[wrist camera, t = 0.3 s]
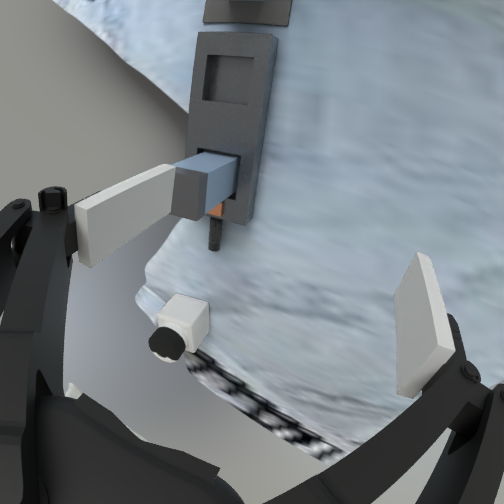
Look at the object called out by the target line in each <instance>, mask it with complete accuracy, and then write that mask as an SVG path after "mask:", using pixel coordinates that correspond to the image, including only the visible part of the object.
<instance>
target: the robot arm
mask: <svg viewBox="0 0 504 504" xmlns="http://www.w3.org/2000/svg"><path fill="white" fill-rule="evenodd" d="M175 170H176V167H175V166H171V165H168V164H162V165H159V166H157V167H155V168H152V169H150V170H148V171H145V172H143V173H140V174H138V175H136V176H134V177H131V178H129V179H127V180H125V181H122V182H120V183H118V184H116V185H114V186H112V187H109V188H107V189H105V190H103V191H98V192H96V193H94V194H92V195H91V196H89V197H86V198H85V199H82V200H80V201H78V202H76V203H74V204H72V205H70V206H68V207H67V190H66V189H65V188H63V187H56V186H55V187H49V188H45V189H43V190H41V191H40V192H39V193H38V197H39V208H40V212H38V211H32V207H31V201H30V200H27V199H16V200H15V201H12V202H10V203H9V204H8V205H7V206H5V207H4V209H2V210H1V211H0V316H1V315H2V312H3V311H4V313H3V317H2V321H1V325H0V504H244V502H243V500H242V499H241V497H240V496H239V495H238V493H237V492H236V491H235V490H234V489H233V488H232V487H231V486H230V485H229V484H228V483H227V482H225V481H224V480H223V479H221V478H220V477H219V476H217V474H218V472H219V470H220V468H219V467H217V466H214V465H212V464H210V463H207V462H205V461H203V460H200V459H198V458H196V457H194V456H192V455H189V454H187V453H185V452H183V451H179V450H175V449H171V448H167V447H163V446H159V445H156V444H152V443H149V442H145V441H142V440H140V439H139V438H138V437H137V436H136V435H134V434H133V433H132V432H131V431H130V430H129V429H128V428H127V427H126V426H125V425H124V424H123V423H122V422H121V421H120V420H119V419H118V418H117V417H116V416H115V415H114V414H113V413H112V412H111V411H110V410H108V409H106V408H105V407H103V406H102V405H100V404H99V403H97V402H96V401H94V400H93V399H91V398H90V397H88V396H87V395H86V394H84V393H83V394H82V395H81V396H80V397H79V398H78V399H74V398H70V397H65V395H64V391H63V352H64V334H65V321H66V320H65V319H66V310H67V301H68V292H69V284H70V277H71V270H72V263H73V259H72V254H73V253H74V252H76V251H78V256H79V262H80V263H82V264H84V265H86V266H88V267H89V268H92V267H93V266H95V265H96V264H98V263H99V262H100V261H102V260H103V259H104V258H105V257H107V256H108V255H109V254H111V253H112V252H114V251H115V250H117V249H118V248H119V247H121V246H122V245H124V244H125V243H126V242H128V241H129V240H131V239H132V238H134V237H135V236H136V235H138V234H139V233H140V232H142V231H143V230H145V229H146V228H148V227H149V226H151V225H152V224H154V223H155V222H157V221H158V220H159V219H161V218H163V217H164V216H166V215H167V214H169V213H170V212H171V204H172V195H173V186H174V178H175ZM11 241H12V245H13V247H12V248H11ZM394 304H395V320H396V344H397V394H398V395H401V396H405V397H409V398H412V399H413V398H414V397H415V396H416V395H417V394H418V393H419V392H420V391H421V390H422V396H421V397H420V398H419V399H418V400H416V401H415V402H414V403H413V404H412V405H411V406H410V407H409V408H407V409H406V410H405V411H404V412H403V413H402V414H401V415H399V416H398V417H397V418H396V419H395V420H393V421H392V422H391V423H390V424H389V425H387V426H386V427H385V428H384V429H382V430H381V431H380V432H379V433H377V434H376V435H375V436H373V437H372V438H371V439H369V440H368V441H367V442H365V443H364V444H363V445H361V446H360V447H359V448H357V449H356V450H354V451H353V452H352V453H350V454H349V455H347V456H346V457H344V458H343V459H341V460H340V461H338V462H337V463H335V464H334V465H332V466H331V467H329V468H328V469H326V470H325V471H323V472H321V473H320V474H318V475H315V476H313V477H311V478H310V479H308V480H306V481H304V482H303V483H301V484H299V485H297V486H296V487H294V488H292V489H290V490H289V491H287V492H285V493H283V494H281V495H279V496H277V497H275V498H273V499H271V500H269V501H267V502H265V503H263V504H371V503H372V502H373V501H375V500H376V499H377V498H378V497H379V496H380V495H382V494H383V493H384V492H385V491H386V490H387V489H388V488H389V487H391V485H393V484H394V483H395V482H396V481H397V480H398V479H399V478H400V477H401V476H402V475H403V474H404V473H406V472H407V471H408V469H410V468H411V467H412V466H413V465H414V463H415V462H417V460H418V459H419V458H420V457H421V456H422V455H423V454H424V453H425V452H426V451H427V450H428V449H429V448H430V446H432V444H433V443H434V442H435V441H436V440H437V439H438V437H439V436H440V435H441V434H442V433H443V432H444V431H445V429H446V428H447V427H448V428H450V429H451V430H452V431H451V434H450V436H449V438H448V441H447V443H446V445H445V448H444V450H443V452H442V454H441V456H440V458H439V460H438V462H437V464H436V466H435V468H434V471H433V473H432V474H431V476H430V478H429V480H428V482H427V484H426V486H425V487H424V489H423V491H422V493H421V495H420V496H419V498H418V500H417V502H416V503H415V504H494V501H495V498H496V495H497V492H498V489H499V486H500V482H501V479H502V475H503V472H504V384H498V385H497V386H496V387H495V388H494V389H493V390H490V389H489V388H487V387H486V386H484V385H483V384H481V383H480V382H481V377H480V373H479V371H478V369H477V368H476V367H475V366H474V365H473V364H472V363H471V362H470V361H467V359H466V355H465V350H464V346H463V342H462V341H461V340H462V338H461V334H460V331H459V327H458V324H457V322H456V320H455V319H454V317H453V316H452V315H451V314H448V313H446V309H445V305H444V302H443V298H442V295H441V291H440V288H439V284H438V281H437V278H436V275H435V272H434V268H433V265H432V262H431V259H430V257H429V256H426V255H424V254H422V253H419V252H416V254H415V256H414V258H413V260H412V262H411V264H410V266H409V268H408V270H407V272H406V274H405V275H404V277H403V279H402V281H401V283H400V285H399V286H398V288H397V290H396V292H395V294H394Z"/></svg>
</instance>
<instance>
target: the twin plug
mask: <svg viewBox="0 0 504 504" xmlns="http://www.w3.org/2000/svg"><path fill="white" fill-rule="evenodd" d="M240 160H241V157H240V156H235V155H230V154H225V153H219V152H214V151H205V152H203V153H200V154H197V155H195V156H192V157H190V158H187V159H185V160H182V161H180V162H177V163H175V164H172V165H171V166H175V167H176V170H175V178H174V186H173V195H172V204H171V212H170V213H169V214H171V215H175V216H179V217H182V218H186V219H190V220H194V221H198V220H199V219H200V218H202V217H203V216H204V215H205V214H207V213H208V212H209V211H211V210H212V209H213V208H214V207H216V206H217V205H218V204H220V203H221V202H222V201H224V200H225V199H226V198H228V197H229V196H230V195H232V194H233V193H234V192H236V191H237V185H238V176H239V168H240Z"/></svg>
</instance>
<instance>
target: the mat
mask: <svg viewBox="0 0 504 504" xmlns="http://www.w3.org/2000/svg"><path fill="white" fill-rule="evenodd" d="M291 3H292V0H264V1H249V0H206V4H205V10H204V17H203V23H253V24H269V25H281V26H288V22H289V16H290V9H291Z"/></svg>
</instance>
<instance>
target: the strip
mask: <svg viewBox="0 0 504 504" xmlns="http://www.w3.org/2000/svg"><path fill="white" fill-rule="evenodd" d="M277 45H278V38H276V37H275V36H274V35H272V34H260V33H244V32H198V37H197V45H196V52H195V60H194V68H193V76H192V85H191V95H190V105H189V115H188V127H187V139H186V153H185V159H187V158H190V157H192V156H195V155H197V154H200V153H203V152H205V151H214V152H219V153H225V154H230V155H235V156H240V157H241V160H240V168H239V176H238V185H237V191H236V192H234V193H233V194H232V195H230V196H229V197H228V198H226V199H225V200H224V201H222V202H221V203H220V204H218V205H217V206H216V207H214V208H213V209H212V210H211V211H209V212H208V213H207V214H205V215H207V216H211V219H210V232H209V246H208V249H209V250H211V251H218V250H220V242H221V231H222V221H223V220H226V221H230V222H233V223H237V224H241V225H246V224H247V223H248V222H249V221H250V220H251V219H252V215H253V208H254V201H255V194H256V187H257V180H258V173H259V166H260V160H261V153H262V146H263V139H264V132H265V125H266V119H267V112H268V105H269V98H270V91H271V85H272V78H273V71H274V65H275V58H276V51H277Z"/></svg>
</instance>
